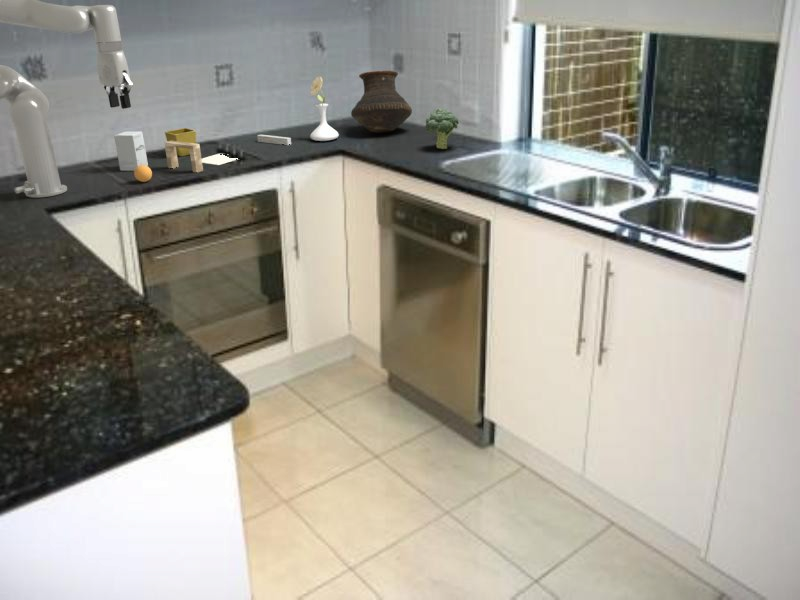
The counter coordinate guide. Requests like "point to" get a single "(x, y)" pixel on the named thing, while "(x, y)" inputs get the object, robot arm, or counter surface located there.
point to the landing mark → (217, 159)
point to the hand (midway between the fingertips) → (120, 106)
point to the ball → (143, 173)
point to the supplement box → (130, 150)
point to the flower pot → (182, 139)
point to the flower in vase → (322, 116)
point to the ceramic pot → (380, 103)
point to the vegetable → (441, 125)
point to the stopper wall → (274, 139)
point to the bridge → (194, 154)
